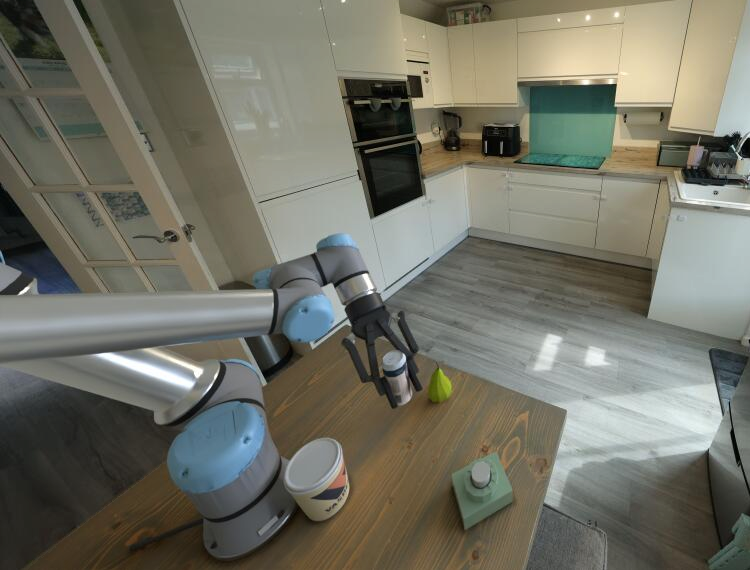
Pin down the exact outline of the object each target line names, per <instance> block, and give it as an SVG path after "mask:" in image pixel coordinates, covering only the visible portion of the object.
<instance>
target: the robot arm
mask: <svg viewBox="0 0 750 570" xmlns="http://www.w3.org/2000/svg"><path fill="white" fill-rule="evenodd" d="M315 248H316V251H314V252H313V253H310V254H307V255H304V256H301V257H297V258H293V259H291V260H287V261H285V262H281V263H278V264H273V265H271V266H269V267H267V268H264V269H262V270H259V271H257V272H255V273H254V274H253V276H252V281H253V284H254V287H255V289H217V290H212V289H211V290H182V291H181V290H176V291H175V290H173V291H172V290H171V291H169V290H166V291H133V292H131V291H129V292H126V291H125V292H124V291H123V292H86V293H85V292H84V293H83V292H82V293H81V292H80V293H41V294H40V292H39V291H38V279H37V278H35V277H33V276H31V275H29V274H27V273H24V272H23V271H21V270H19V269H16V268H14V267H12V266H9V265H7V264H6V262H5V258H4V255H3V253H2V251H1V250H0V367H4V368H7V369H10V370H14V371H17V372H20V373H24V374H27V375H31V376H34V377H37V378H41V379H43V380H48V381H51V382H54V383H57V384H61V385H64V386H67V387H72V388H75V389H78V390H81V391H85V392H89V393H91V394H94V395H97V396H98V395H99V396H102V397H104V398H109V399H112V400H115V401H118V402H122V403H125V404H129V405H132V406H135V407H139V408H142V409H146V410H150V411H153V420H154V422H155V423H156V424H157V425H160V426H164V427H167V428H171V429H174V430H178V431H180V432H181V433H178V434H177V435H176V436H175V438H174V439H173V441H172V443H171V445H170V447H169V449H168V451H167V456H166V465H167V469H168V473H169V476H170V479H172V481H173V483H174V485H175V486H176V487H177V488H178V489H180V490H181V491H182V493H183V494H184V495H185V496H186V498H188V501H190V502H191V504H192V505H193V506H194V507H195V509H196V510H197V511H198V512H199V513H200V515H201V516H202V517H201V518H198V519H196V520H194V521H191V522H188V523H185V524H183V525H181V526H177V527H176V528H173V529H170V530H168V531H166V532H163V533H161V534H158V535H155V536H153V537H149V538H147V539H144V540H141V541H137V542H134V543H132V544H130V546H129V551H133V550H137V549H140V548H143V547H146V546H148V545H151V544H154V543H156V542H159V541H161V540H164V539H167V538H169V537H172V536H174V535H176V534H179V533H181V532H183V531H187V530H189V529H191V528H194V527H197V526H200V525H202V539H203V540H202V541H203V545H204V547H205V549H206V551H207V552H208V553H209V555H210V556H211V557H212V558H214V559H216V560H217V561H221V562H234V561H237V560H241V559H243V558H246V557H249V556H252V555H253V554H254V553H257V552H258V551H260V550H261V549H263V548H264V547H265V546H266V545H268V544H269V543H270V542H272V541H273V540H274V539H275V538H276V537H277V536H278V535H280V533H281V532H282V531H283V530H284V528H285V527H286V526H287V525H288V524H289V523H290V521H291V520H292V518H293V517H294V515H295V514H296V512H297V510H298V508H299V507H300V506H299V505H298V503H297V502H296V500H295V499H294V498H293V496H292V495H291V493H289V492H288V491H287V490H286V488H285V486H284V474H285V471H286V468H287V465H288V463H289V462H290V460H291V459H288V458H285V457H283V456H282V455H280V453H279V450H278V449H277V446H276V445H275V443H274V440H273V439H272V436H271V433H270V429H269V424H268V419H267V414H266V407H265V400H264V395H263V388H262V387H263V386H262V380H261V377H260V374H258V371H257V369H256V368H255V367H254V366H253V365H252V364H251V363H250V362H248V361H245V360H242V359H238V358H228V359H227V360H223V359H220V360H218V359H216V358H208V359H204V360H202V361H196V360H194V359H192V358H190V357H188V356H185V355H182V354H180V353H178V352H175V351H173V350H171V349H168V348H166V347H171V346H181V345H190V344H191V345H192V344H199V343H208V342H215V341H225V340H233V339H243V338H250V337H261V336H270V335H280V334H283V335H284V336H285V338H287V339H288V340H290V341H292V342H295V343H299V344H307V343H311V342H314V341H316V340H319V339H320V338H323V336H325V335H326V334H327V333H328V332H329V331H330V330H331V328H332V327H333V325H334V321H335V312H334V309H333V306H332V302H331V300H330V299H329V298H328V297H327V294H326V293H325V291H324V290H323V289H322V288H324V287H326V286H328V285H330V284H331V285H332V286H333V288H334V290H335V293H336V294H337V297H338V299H339V301H340V304H341V305H342V306H344V309H343V310H344V312H345V315H346V317H347V319H348V321H349V324H350V326H351V329H350V330H351V331H350V333H349V334H348V335H347V336H346V337H344V338H342V340H341V342H340V345H341V346H342V347H343V348H344V349H345V350H346V351H347V352H348V354H349V357H350V360H351V361H352V364H353V366H354V368H355V370H356V373H357V375H358V377H359V379H360V382H361V383H362V384H367V383H373V385H374V387H375V389H376V391H377V393H378V395H379V396H380V397H383V396H384V395H385V397H386V399H387V401H388V403H389V405H390V407H391V409H392V410H395V409H397V408H398V407H399V406H398V404H397V402H396V400H395V398H394V396H393V393H392V391H391V389H390V387H389V385H388V382H387V380H386V378H385V376H384V375H383V376H382V377H381V375H380V369H379V363H378V357H377V351H376V342H375V341H376V340H377V339H379V338H382V337H384V338H385V339H386V340H387V341H388V342H389V343H390V344H391V346H392V347H393V348H394V349H395V351H396V350H399V351H400V352H402V353H403V354H404V355H405V356H406V363H407V369H408V375H409V380H410V383H411V384H412V387H413V388H414V391H415V392H416V393H418V392H419V393H420V392H421V391H423V390H424V388H423V387H422V384H421V383H420V380H419V378H418V376H417V374H418V373H420V369H419V367H418V365H417V363H416V360H415V356H416V354H417V353H418V352H419V351H420V347H419V346H418V343H417V341H416V340H415V338H414V336H413V333H412V331H411V329H410V327H409V325H408V323H407V320H406V315H405V311H404V310H399V311H398V312H397V311H396V312H391V311H390V310H389V309H387V307H386V305H385V302H384V300H383V298H382V295H381V293H379V292H378V291H377V290H378V287H377V285H376V283H375V281H374V279H373V277H372V275H371V274H370V272H369V269H368V267H367V265H366V263H365V261H364V258H363V256H362V254H361V252H360V249H359V247H358V246H357V244H356V243H355V241H354V239H353V238H352V236H351V234H348V233H343V232H338V233H334V234H330V235H328V236H326V237H323V238H321V239H320V240H319V241H318V242H317V243H316V245H315ZM392 320H393V321H394V322H395V323H396V324H397V326H398V328H399V331H400V333H401V335H402V337H403V339H404V341H405V343H406V345H407V346H406V345H405V344H404V343H403V341H402V340H401V339H400V338H399V337H398V336H397V335H396V333H395V332H394V330H393V329H392V328H391V323H392ZM355 337H356V338H358V339H361V340H362V341H364V343H365V348H366V353H367V359H368V360H367V361H368V366H369V372H370V374H369V372H368V370H367V369H366V367H365V365H364V362H363V359H362V358H361V355H360V353H359V351H358V349H357V345H355V344H356V339H355ZM407 347H408V348H407Z"/></svg>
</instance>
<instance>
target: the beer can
mask: <svg viewBox="0 0 750 570" xmlns="http://www.w3.org/2000/svg"><path fill="white" fill-rule="evenodd" d="M380 366H381V369H382V373H383V376H385V378H386V380H387V382H388V385H389V387H390V389H391V391H392V393H393V396H394V398H395V400H396V402H397V404H398V407H401V406H404V405H406V404H408V402H409V401H410V400H411V399H412V397H413V390H412V386H411V380H410V378H409V375H408V369H407V363H406V356H405V355H404V354H403V353H402V352H400V351H399V350H396V349H395V350H391V351H389V352H386V354H385V355H384V356H383V357H382V359H381V365H380Z"/></svg>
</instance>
